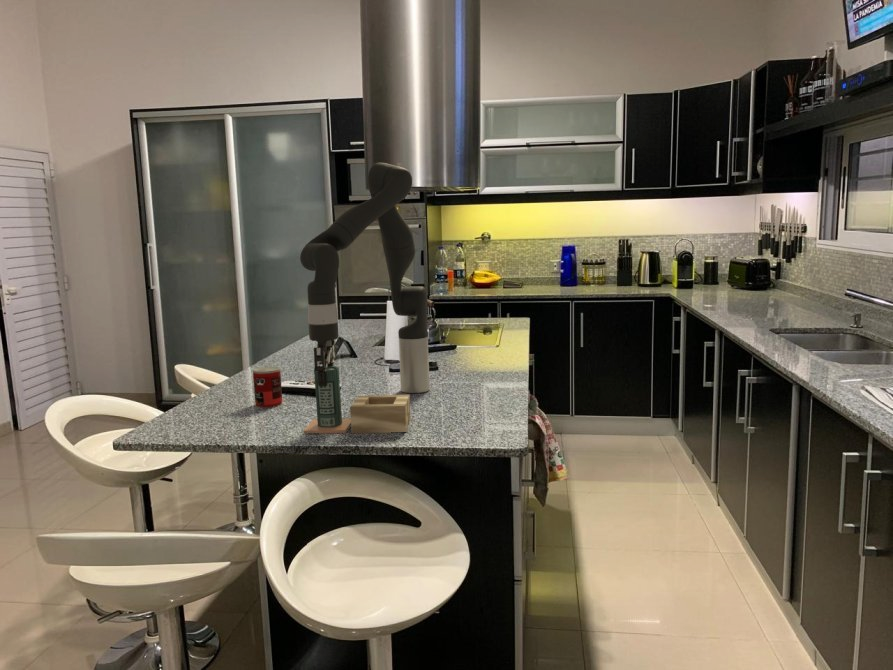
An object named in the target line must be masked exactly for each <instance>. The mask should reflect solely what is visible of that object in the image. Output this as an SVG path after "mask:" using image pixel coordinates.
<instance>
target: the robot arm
mask: <svg viewBox="0 0 893 670" xmlns="http://www.w3.org/2000/svg"><path fill="white" fill-rule="evenodd" d="M367 185H368V186H367V187H368V190H369V194H370V199H367V200H365V201H364V202H361V203H359V204H356V205H354V206H352V207H350V208H348V209H347V210H345V211H344V212H343V213H341V214H340V215H339V216H338V218H337V219H335V221H333V223H331V224H330V226H329V227H328V228H327V229H325V230H324V231H322V232H321V233H320V234H318V235H316V236H315V237H314V238H312V239H311V240H310V241H309V242H307V243H306V244H305V246H304V247H303V248H302V249H301V251H300V256H299V257H300V258H299V259H300V264H301V266H302V267H303V268H304V269H306V270H307V271H312V272H315V273H314V280H312V281H310V282H308V285H307V291H306V292H307V303H308V304H307V305H308V307H307V308H308V310H307V320H308V322H307V323H308V337H309V340H310V341H313V342H317V343H316V344H317V346H316V347H313V361H314V369H315V371H317V372H318V385H319V386H320V387H324V386H327V366H334V365H335V364H336V360H337V358H336V341H335V340H337V339H338V338H339V337H340V336H339V335H340V334H339V320H338V308H337V299H336V283H337V280H338V274H339V268H340V258H339V253H338V252H339V251H343V250H345V249H347V248H348V247H350V246H351V245H352V244H353V243H354V241H356V239H357V238H358V237H359V236H360V235H361V234H362V233H363V232H364V231H365V230H366V229H367V228H368V227H369V226H370V225H372V223H374V222H375V221H377V224H378V226H379V231H380V237H381V243H382V249H383V254H384V258H385V262H386V267H387V273H388V277H389V278H388V280H389V286H390V287H389V288H390V296H391V304H392V309H393V312H394V313H395V315H397V316H399V317H400V316H403V317H416V319H415V321H413V322H412V323H410V324H408V325H404V326H401V327H400V328H399V329H398V332H397V333H398V353H399V376H400V377H399V378H400V379H399V381H400V391H401V392H402V393H406V394H419V393H420V394H421V393H425V392H428V391H430V388H431V387H430V386H431V385H430V366H429V365H430V363H429V362H430V360H429V337H428V333H429V332H428V302H429V301H428V292H427V289H426V287H424V286H422V285H421V286H420V285H419V286H416V285H415V286H403V285H402V281H403V278H404V277H405V274H406V272H407V271H408V269H409V268H410V266H411V264H412V263H413V261H414V258H415V254H416V248H415V241H414V235H413V232H412V230H411V228H410V226H409V224H408V223H407V221H406V220H405V218H404V217H403V215H402V214H401V213H400V211H399V209H398V207H397V205H398V204H399V203H401V202H402V201H403V200H404V199H405V198H406V197H407V196H408V195H409V193H410V191H411V190H412V186H413V176H412V174H411V172H410V171H409V170H408V169H407V168H404V167H403V166H398V165H394V164H390V163H386V162H376V163H373V165H371V167H370V169H369V171H368V175H367ZM314 369H313V370H314Z"/></svg>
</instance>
